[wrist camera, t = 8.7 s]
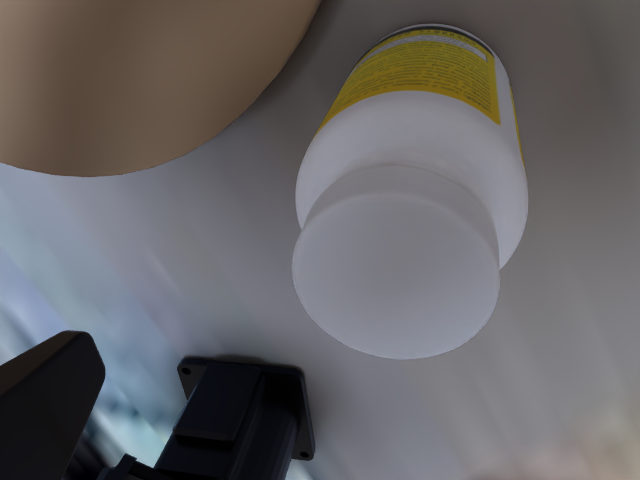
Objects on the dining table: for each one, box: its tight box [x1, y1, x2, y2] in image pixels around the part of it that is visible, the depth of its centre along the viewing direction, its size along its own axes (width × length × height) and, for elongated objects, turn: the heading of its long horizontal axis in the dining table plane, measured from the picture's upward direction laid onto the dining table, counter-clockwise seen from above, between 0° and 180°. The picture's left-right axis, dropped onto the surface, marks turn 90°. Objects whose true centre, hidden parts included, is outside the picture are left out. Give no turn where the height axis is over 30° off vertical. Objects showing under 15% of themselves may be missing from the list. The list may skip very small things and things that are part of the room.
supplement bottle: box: [292, 24, 528, 359], centre depth 14 cm, size 5×5×10 cm
